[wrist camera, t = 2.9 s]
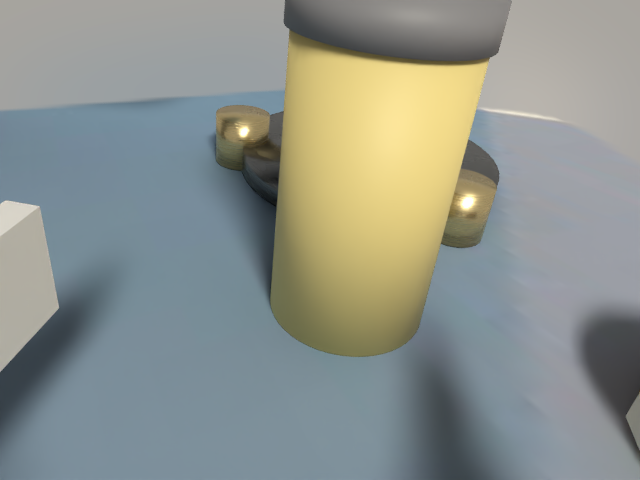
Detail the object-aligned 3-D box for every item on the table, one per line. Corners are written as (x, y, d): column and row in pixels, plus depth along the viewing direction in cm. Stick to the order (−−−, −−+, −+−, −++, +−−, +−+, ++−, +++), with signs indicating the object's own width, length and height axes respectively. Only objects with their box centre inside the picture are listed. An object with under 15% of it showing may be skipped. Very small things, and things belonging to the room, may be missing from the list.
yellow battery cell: (232, 314, 22) (241, -61, 15) (315, 242, 27) (351, -60, 20) (387, 387, 19) (487, -22, 12) (446, 292, 24) (538, -32, 17)
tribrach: (179, 172, 32) (177, 123, 30) (322, 105, 45) (326, 68, 44) (459, 276, 26) (475, 222, 24) (528, 162, 39) (541, 122, 38)
